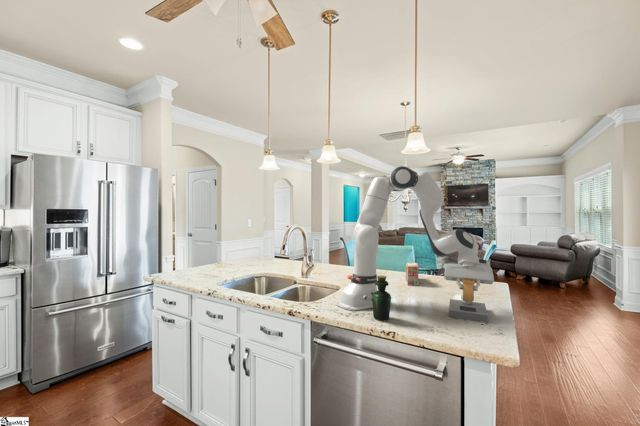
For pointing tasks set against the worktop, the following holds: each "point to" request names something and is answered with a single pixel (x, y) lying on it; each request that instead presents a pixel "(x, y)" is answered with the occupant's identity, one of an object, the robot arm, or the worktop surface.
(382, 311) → the potion bottle
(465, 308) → the gray peg hole board
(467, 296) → the mushroom head peg
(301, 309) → the worktop surface
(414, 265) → the stack of blocks
